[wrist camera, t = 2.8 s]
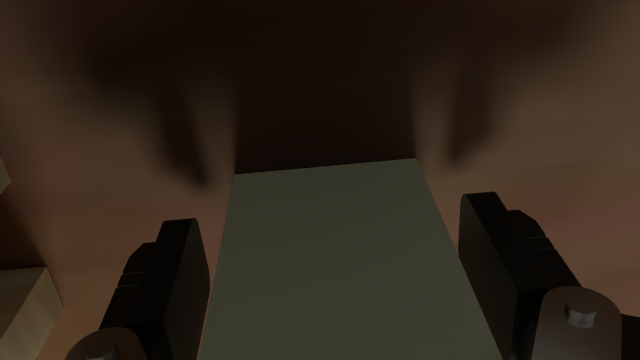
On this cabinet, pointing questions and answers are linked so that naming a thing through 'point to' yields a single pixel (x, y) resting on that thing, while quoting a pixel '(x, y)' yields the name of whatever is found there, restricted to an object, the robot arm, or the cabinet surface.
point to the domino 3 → (341, 271)
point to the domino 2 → (26, 311)
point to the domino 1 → (3, 176)
